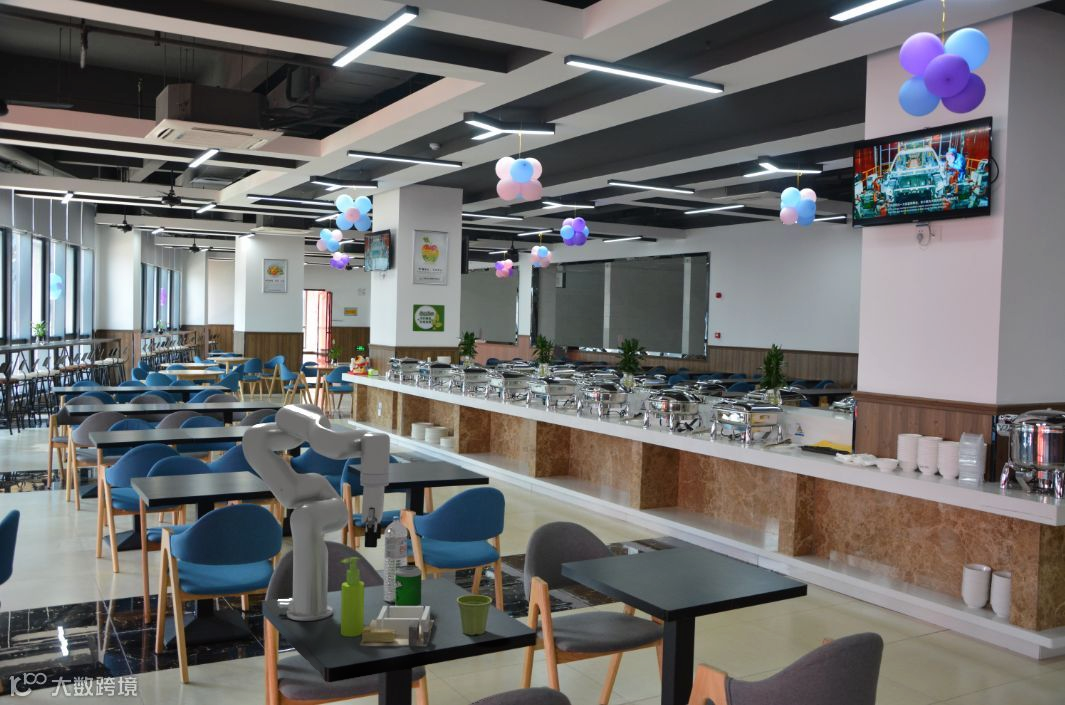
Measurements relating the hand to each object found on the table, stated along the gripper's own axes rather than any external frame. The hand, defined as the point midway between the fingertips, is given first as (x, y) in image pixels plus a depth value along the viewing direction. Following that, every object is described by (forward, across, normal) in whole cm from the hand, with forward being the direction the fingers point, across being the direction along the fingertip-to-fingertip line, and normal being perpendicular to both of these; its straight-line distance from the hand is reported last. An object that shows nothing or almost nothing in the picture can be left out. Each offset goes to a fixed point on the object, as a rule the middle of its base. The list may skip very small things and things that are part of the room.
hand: (372, 542), depth 227 cm
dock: (+23, 0, +9) cm, 25 cm away
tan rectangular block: (+22, +11, +3) cm, 25 cm away
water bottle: (+24, -28, +4) cm, 37 cm away
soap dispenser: (+24, +3, -5) cm, 24 cm away
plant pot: (+23, +2, +28) cm, 36 cm away
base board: (+23, +3, +8) cm, 25 cm away
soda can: (+24, -18, +9) cm, 31 cm away
